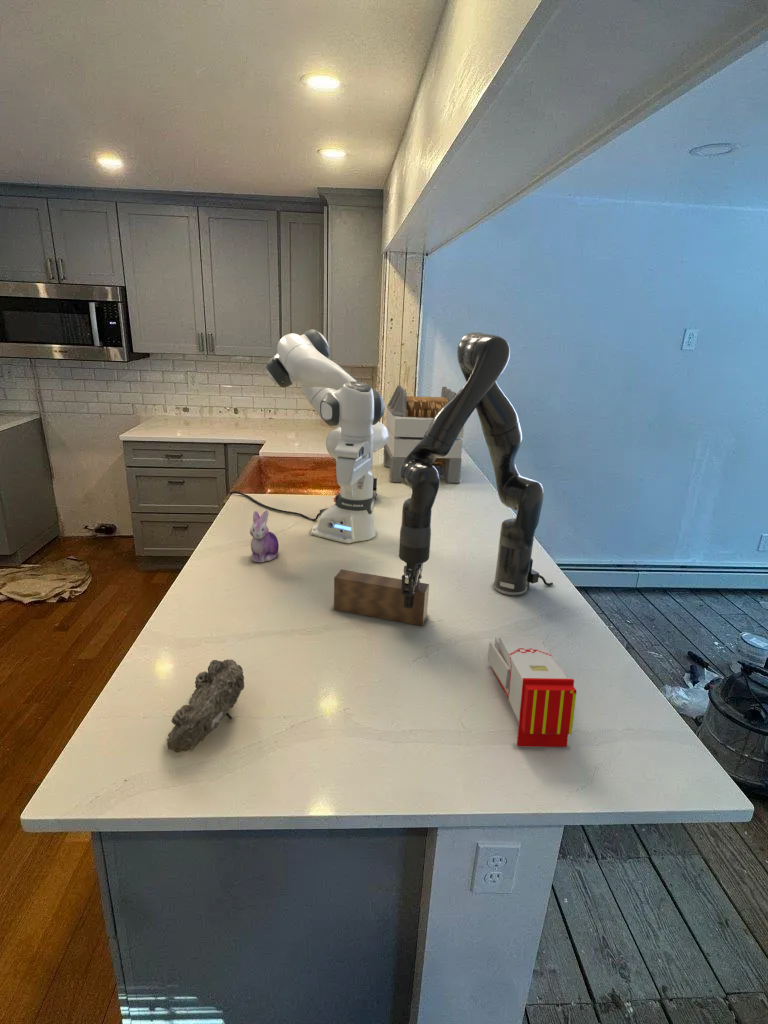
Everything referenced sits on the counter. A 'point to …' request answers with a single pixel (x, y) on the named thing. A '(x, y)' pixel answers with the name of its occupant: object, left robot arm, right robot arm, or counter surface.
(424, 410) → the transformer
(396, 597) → the bar
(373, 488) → the figurine character
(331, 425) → the left robot arm
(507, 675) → the toy
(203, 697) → the fossil
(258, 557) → the figurine
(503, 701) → the counter surface
